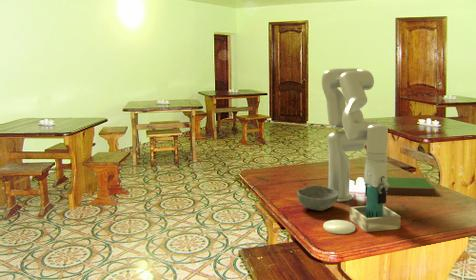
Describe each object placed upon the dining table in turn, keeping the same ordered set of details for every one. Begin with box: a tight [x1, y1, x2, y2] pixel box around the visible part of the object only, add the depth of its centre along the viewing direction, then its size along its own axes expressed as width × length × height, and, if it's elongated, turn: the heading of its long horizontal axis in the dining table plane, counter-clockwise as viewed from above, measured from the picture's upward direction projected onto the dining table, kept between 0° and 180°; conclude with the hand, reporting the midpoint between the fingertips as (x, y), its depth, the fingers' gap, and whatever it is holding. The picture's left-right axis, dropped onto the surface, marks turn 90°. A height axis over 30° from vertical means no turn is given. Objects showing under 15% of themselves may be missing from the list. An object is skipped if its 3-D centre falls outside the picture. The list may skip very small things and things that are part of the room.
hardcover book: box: [386, 176, 436, 196], centre depth 211 cm, size 25×19×4 cm
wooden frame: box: [349, 205, 402, 233], centre depth 167 cm, size 14×14×5 cm
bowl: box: [296, 184, 338, 212], centre depth 185 cm, size 18×18×8 cm
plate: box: [322, 219, 356, 235], centre depth 163 cm, size 12×12×1 cm
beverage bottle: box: [365, 185, 384, 218], centre depth 165 cm, size 6×7×20 cm
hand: (375, 199), depth 165 cm, fingers open, 9 cm apart
